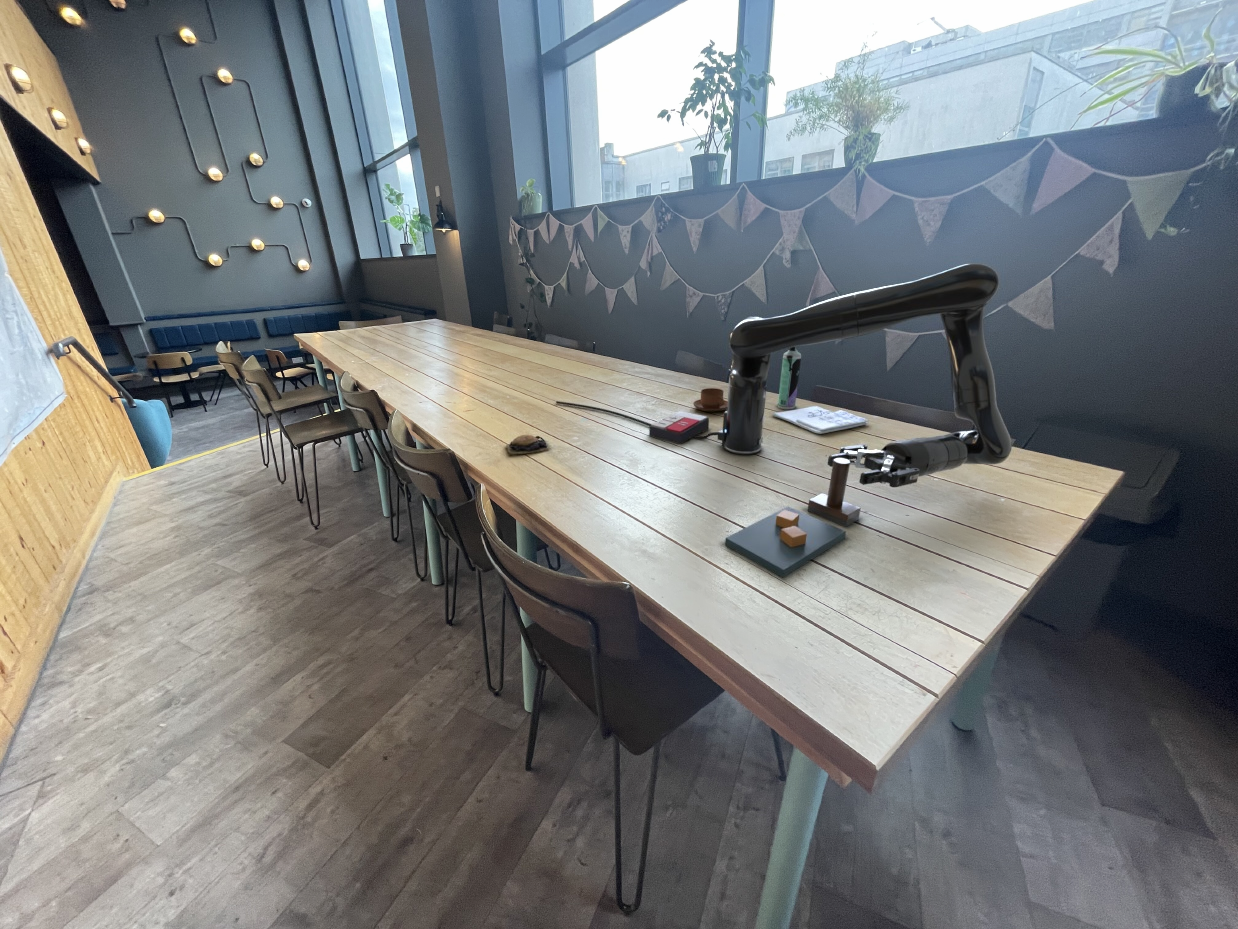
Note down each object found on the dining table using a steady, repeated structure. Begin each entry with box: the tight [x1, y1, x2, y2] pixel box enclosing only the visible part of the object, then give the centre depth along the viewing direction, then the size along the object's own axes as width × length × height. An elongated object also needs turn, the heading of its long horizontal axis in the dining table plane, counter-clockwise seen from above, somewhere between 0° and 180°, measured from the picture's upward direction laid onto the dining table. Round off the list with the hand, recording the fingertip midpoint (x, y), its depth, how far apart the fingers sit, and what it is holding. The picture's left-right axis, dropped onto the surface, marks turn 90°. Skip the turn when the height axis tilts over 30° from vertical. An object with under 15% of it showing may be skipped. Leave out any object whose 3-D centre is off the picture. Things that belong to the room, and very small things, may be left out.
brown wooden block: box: [776, 510, 799, 528], centre depth 85 cm, size 3×3×2 cm
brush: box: [807, 458, 861, 528], centre depth 89 cm, size 8×4×12 cm, turn 36°
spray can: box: [777, 346, 802, 410], centre depth 153 cm, size 6×6×20 cm
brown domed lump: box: [506, 434, 549, 456], centre depth 128 cm, size 11×8×4 cm
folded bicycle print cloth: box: [772, 405, 869, 435], centre depth 142 cm, size 19×20×2 cm
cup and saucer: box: [693, 387, 728, 413], centre depth 156 cm, size 12×12×6 cm
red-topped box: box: [648, 410, 710, 444], centre depth 136 cm, size 11×4×15 cm
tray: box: [724, 506, 847, 578], centre depth 83 cm, size 12×18×2 cm, turn 126°
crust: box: [780, 526, 807, 547], centre depth 80 cm, size 3×3×2 cm
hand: (844, 469), depth 88 cm, fingers open, 8 cm apart
